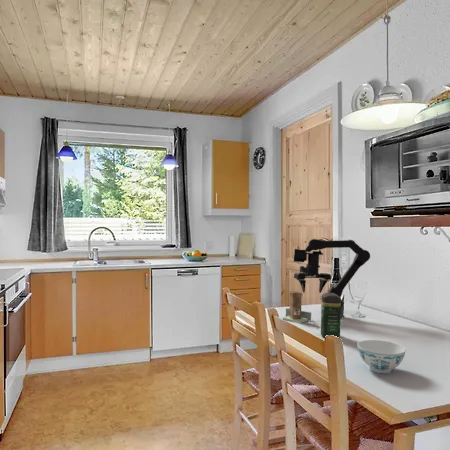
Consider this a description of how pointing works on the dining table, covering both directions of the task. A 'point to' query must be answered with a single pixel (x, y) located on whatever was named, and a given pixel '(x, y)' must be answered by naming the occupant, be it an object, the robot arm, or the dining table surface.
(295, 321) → the green pad
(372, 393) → the dining table surface
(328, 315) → the coffee jar
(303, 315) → the grey rail
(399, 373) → the dining table surface
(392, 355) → the chinaware
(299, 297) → the walnut block
